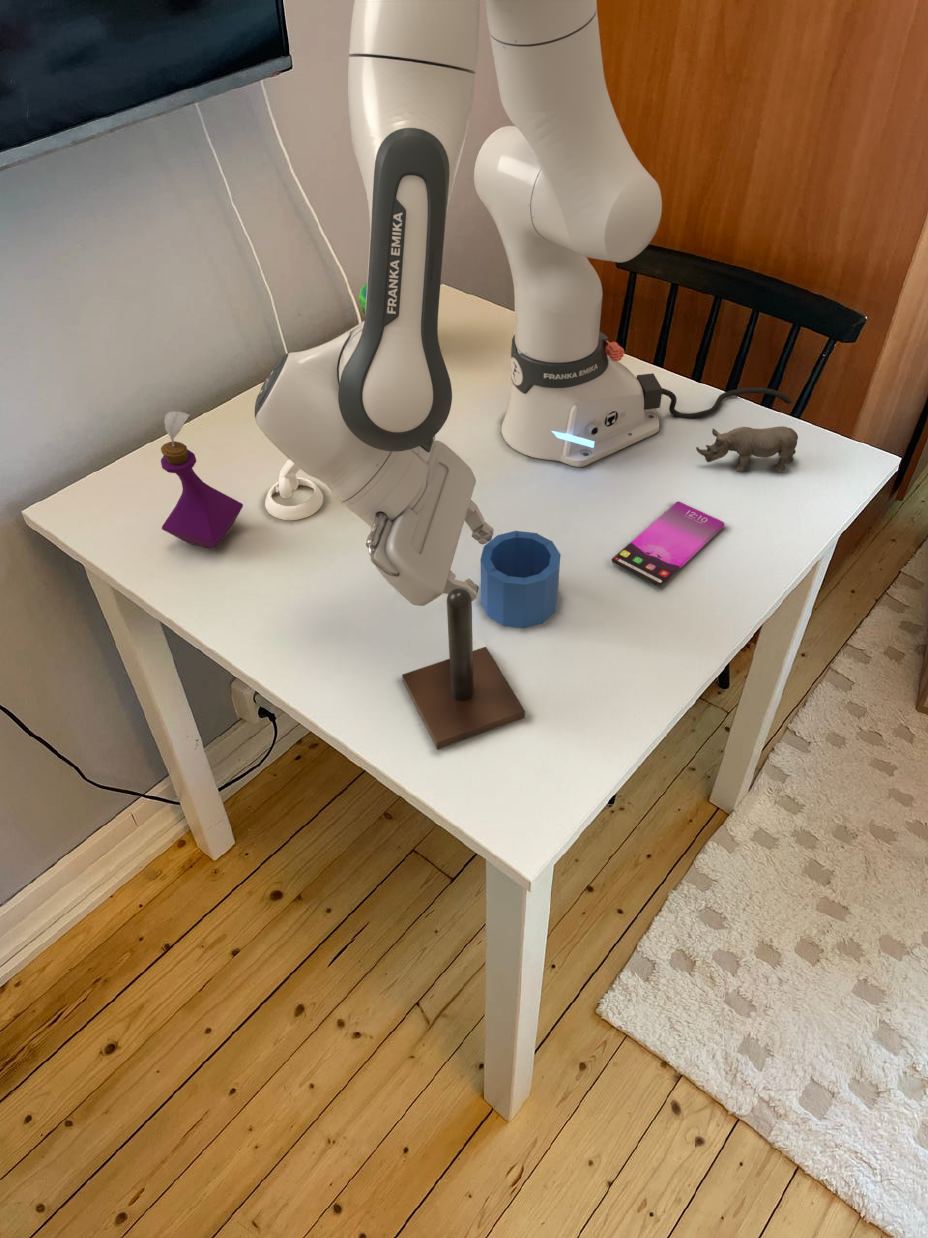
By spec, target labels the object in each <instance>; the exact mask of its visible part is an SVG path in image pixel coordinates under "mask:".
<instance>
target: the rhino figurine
mask: <svg viewBox="0 0 928 1238" xmlns="http://www.w3.org/2000/svg"><path fill="white" fill-rule="evenodd" d="M711 433H712V435H713V436H714V437H715V442H714V443H713V444H706V445H705V448H706V449H702V448H700V447H698V446H695V449H696V451H697V453H698V454H700V455H701V456H703V458H704V459H705V462H706V463H711V462H714V461H716V460H720V459H721V458H724V457H726V455H727V454H728V453H729V451H730V452H736V453H737V454H738V455H739V456H738V457H737V459H738V460H739V463H738V464H736V466H735V471H736V472H738V473H744V472H746V471H747V470H748V463H749V461H750V459H751V457H752V456H754V457H756V458H759V459H760V458H763V459H765V458H767V459H768V458H771V457H773V456H775V455H776V454H778V457H779V459H778V461H777V463H776V464H774V466H773V468H772V470H773V472H777V473H782V472H784V471H785V470H786V467H787V466H786V464H790V463H793V462H795V458H794V455H795V454H796V448H797V445H798V439H799V436H798V433H797V431H796V430H794V429H793V428H791V427H788V426H783V425H782V426H780V425H779V426H772V427H766V428H754V427H748V426H739V427H736V428H733V429H731V430H729V431H727V432H723V433H720V432H718V430H716V429H715V428H712V429H711Z"/></svg>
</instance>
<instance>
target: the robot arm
mask: <svg viewBox="0 0 928 1238" xmlns="http://www.w3.org/2000/svg"><path fill="white" fill-rule="evenodd" d="M597 2H598V1H597V0H484V5H485V13H486V20H487V25H488V33H489V38H490V45H491V51H492V56H493V62H494V68H495V74H496V81H497V86H498V91H499V97H500V102H501V104H502V108H503V109H504V112H505V114H506V115H507V117H508V119H509V120H510V121H511V123H512V124H513V125H505V126H502V127H500V128H498V129H496V130H495V131H493V132H491V134H490V135H489V136H488V137H487V138H486V140H485V141H484V142H483V144H482V146H481V147H480V149H479V151H478V154H477V156H476V159H475V164H474V170H473V182H474V183H473V184H474V189H475V191H476V195H477V197H478V198H479V200H480V201H481V202H482V204H483V205H484V206H485V208H486V209H487V211H488V212H489V214H490V216H491V218H492V220H493V221H494V224H495V226H496V228H497V230H498V233H499V236H500V238H501V241H502V245H503V248H504V251H505V254H506V257H507V261H508V264H509V268H510V272H511V277H512V283H513V292H514V293H513V294H514V334H513V336H512V338H511V345H510V348H511V349H510V365H509V366H510V379H511V387H510V393H509V399H508V404H507V409H506V412H505V416H504V418H503V421H502V423H501V427H500V429H501V435H502V437H503V439H504V441H505V443H506V444H508V445H509V446H510V447H511V448H512V449H513V450H515V451H517V452H519V453H520V454H522V455H525V456H528V457H530V458H535V459H540V460H547V461H554V462H555V461H556V462H560V463H563V464H566V465H568V466H572V467H576V468H583V467H586V466H588V465H591V464H593V463H595V462H597V461H598V460H601V459H604V458H606V457H607V456H610V455H612V454H614V453H617V452H619V451H621V450H622V449H624V448H626V447H629V446H632V445H633V444H636V443H639V442H640V441H642V440H645V439H647V438H649V437H651V436H653V435H655V434H657V433H658V432H659V431H660V419H659V415H658V413H657V412H656V410H655V409H661V403H662V396H663V395H665V396H666V397H668V398H669V399H670V403H669V407H668V410H669V413H670V414H671V415H672V416H674V417H675V418H677V419H678V418H679V419H686V420H687V419H688V420H689V419H690V420H692V419H698V418H702V417H707V416H710V415H712V414H715V413H716V412H717V411H718V409H719V408H720V407H721V405H722V402H723V401H724V400H725V399H726V398H730V397H733V396H739V395H744V394H745V395H746V394H763V395H764V394H766V395H770V396H774V397H776V398H778V399H780V400H781V401H782V402H784V403H785V404H787V405H790V404H793V401H792V399H791V398H789V397H788V396H787V395H786V394H784V393H783V392H780V391H778V390H775V389H773V388H767V387H744V388H738V389H737V388H736V389H732V390H728V391H725V392H723V393H721V394H719V396H718V397H717V398H716V401H715V402H714V404H713V406H712V407H710V408H708V409H705V410H701V411H697V412H691V413H684V412H680V411H678V410H676V406H677V402H678V401H677V396H676V394H675V393H674V392H672V390H670V389H667V388H663V387H662V386H661V383H660V382H659V381H658V379H657V377H656V376H655V374H654V373H643V374H637V375H636V376H635V374H634V373H633V372H632V371H631V370H630V369H629V368H628V367H627V366H625V365H624V364H623V363H621V362H620V361H621V360H622V358H624V356H625V350H624V348H623V347H622V346H621V345H620V344H619V343H618V342H617V341H611V342H610V341H609V337H608V336H607V335H606V334H605V333H603V332H602V331H600V329H601V317H602V305H603V296H604V295H603V294H604V292H603V286H602V281H601V278H600V276H599V274H598V273H597V271H596V269H595V267H594V266H593V265H592V264H591V262H590V260H589V258H590V259H595V260H599V261H606V262H613V263H626V262H629V261H631V260H633V259H634V258H636V257H637V256H638V255H640V254H641V253H642V252H643V251H644V250H645V249H646V248H647V247H648V246H649V244H651V242H652V240H653V239H654V237H655V235H656V234H657V232H658V229H659V226H660V223H661V219H662V213H663V199H662V191H661V189H660V186H659V184H658V182H657V181H656V179H655V178H654V177H653V175H651V174H650V173H649V172H648V171H647V169H646V168H645V167H644V166H643V164H642V163H641V162H640V160H639V158H638V157H637V156H636V154H635V152H634V151H633V149H632V147H631V145H630V143H629V142H628V139H627V136H626V135H625V132H624V131H623V129H622V127H621V126H622V125H621V124H620V121H619V119H618V117H617V114H616V112H615V109H614V106H613V104H612V101H611V97H610V95H609V91H608V87H607V83H606V77H605V73H604V63H603V56H602V54H603V53H602V47H601V46H602V45H601V37H600V26H599V25H600V24H599V15H598V3H597ZM349 32H350V33H349V44H348V45H349V46H348V56H349V57H348V59H347V60H348V62H347V107H348V119H349V120H348V121H349V129H350V130H349V131H350V136H351V137H350V138H351V145H352V149H353V153H354V156H355V159H356V163H357V165H358V168H359V173H360V176H361V178H362V182H363V186H364V190H365V195H366V200H367V208H368V216H369V245H368V246H369V247H368V261H367V264H368V265H367V277H366V279H367V280H366V283H367V294H366V311H365V314H364V320H362V321H361V322H360V323H358V324H357V325H355V326H354V327H352V328H350V329H349V330H347V331H345V332H344V333H342V334H340V335H338V336H337V337H335V338H333V339H332V340H329V341H327V342H325V343H322V344H320V345H317V346H315V347H311V348H309V349H306V350H302V351H295V352H287V353H285V354H284V355H282V356H281V357H280V358H279V359H278V360H277V361H276V362H275V365H274V366H273V367H272V368H271V370H270V372H269V373H268V374H267V376H266V378H265V380H264V381H263V384H262V386H261V387H260V391H259V392H258V394H257V397H256V399H255V403H254V418H255V423H256V425H257V427H258V428H259V430H260V431H261V432H262V433H263V435H264V436H265V438H267V440H269V441H270V442H271V443H272V445H273V446H275V448H277V449H278V450H279V451H280V452H281V453H282V454H283V456H285V457H286V458H287V459H290V460H291V461H292V462H293V463H294V464H295V465H297V466H298V467H299V468H300V470H301V471H302V472H303V473H305V474H306V475H307V476H310V477H312V478H314V479H316V480H319V481H320V482H321V483H323V484H324V485H326V487H327V488H328V489H329V490H330V492H331V493H332V495H333V496H334V497H335V499H336V500H337V501H338V502H340V503H341V504H342V505H343V506H344V507H346V508H347V509H348V510H350V511H351V512H352V513H353V514H355V515H356V516H357V517H358V518H359V519H360V520H362V521H363V522H364V523H365V524H366V525H368V526H369V527H370V528H371V529H370V533H369V534H368V535H367V537H366V540H365V541H366V542H365V546H366V548H367V550H368V555H369V558H370V560H369V561H370V562H371V563H372V564H373V565H374V566H375V568H376V570H377V571H378V572H379V574H380V575H381V576H382V577H383V579H384V580H386V581H387V582H388V583H389V585H390V586H391V587H393V588H394V589H395V591H396V592H398V593H399V594H400V595H401V596H402V597H403V598H404V599H405V600H406V601H407V602H409V603H410V604H411V605H413V606H416V607H424V606H427V605H428V604H431V603H432V602H434V601H435V600H436V599H439V597H441V596H442V595H448V594H449V593H450V592H451V591H452V590H453V589H456V588H462V589H465V590H467V591H468V592H469V594H470V595H471V599H472V602H473V601H475V600H477V598H478V593H479V590H480V587H479V585H478V584H477V583H475V582H474V581H473V580H472V579H471V578H466V579H465V580H464V581H462V580H459V579H456V577H457V574H456V573H455V572H453V571H452V570H451V568H452V566H453V562H454V558H455V554H456V552H457V548H458V544H459V540H460V538H461V534H462V530H463V528H464V524H465V523H466V525H467V526H468V528H469V529H470V531H471V532H472V533H471V537H472V538H473V539H474V541H477V543H478V544H479V545H484V546H485V545H486V544H487V543H488V542H490V541H491V540H492V539H493V535H494V531H495V530H494V528H493V526H491V525H490V524H489V523H488V522H487V521H485V517H484V516H483V514H482V512H481V510H480V507H478V504H477V503H475V501H473V499H472V497H473V494H474V489H475V486H476V484H477V483H476V482H477V478H476V476H475V474H474V472H473V470H472V468H471V467H470V466H469V465H468V464H467V462H465V460H463V459H462V458H461V457H460V456H459V455H458V454H457V453H456V452H455V451H454V450H452V449H451V448H450V447H449V446H448V445H447V444H445V443H444V442H442V441H440V440H436V435H437V434H438V433H439V432H440V431H441V429H442V428H443V427H444V425H445V423H446V422H447V419H448V418H449V415H450V412H451V409H452V403H453V389H452V388H453V387H452V381H451V378H450V375H449V372H448V368H447V366H446V363H445V359H444V357H443V354H442V350H441V347H440V342H439V333H438V332H439V331H438V330H439V329H438V327H439V326H438V325H439V324H438V323H439V309H440V298H441V297H440V295H441V284H442V282H441V281H442V269H443V258H444V246H445V245H444V243H445V234H446V233H445V232H446V221H447V216H448V210H449V206H450V203H451V198H452V194H453V190H454V185H455V181H456V177H457V173H458V169H459V165H460V161H461V157H462V154H463V150H464V146H465V141H466V138H467V133H468V129H469V123H470V118H471V113H472V107H473V101H474V94H475V86H476V78H477V75H476V74H477V69H478V57H479V40H480V0H354V2H353V7H352V15H351V24H350V31H349Z"/></svg>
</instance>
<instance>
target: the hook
mask: <svg viewBox="0 0 928 1238" xmlns="http://www.w3.org/2000/svg"><path fill="white" fill-rule="evenodd" d="M300 470H301V469H300V468H299V467H298V466H297V465H295V464H294V463H293V462H292V461H291V460H290V459H289V458H287V460H286V462H285V463H284V465H283V466H282V468H281V469H280V471H279V478H278V481H277V482H275V483H274V484H273V485H272V486H271V487H270V488H269V490H268V492H267V494H266V497H265V501H264V507H265V509H266V511H267V513H268V515H271V516H272V517H274V518H276V519H279V520H282V521H298V520H302V519H306V518H308V517H311V516H312V515H314V514H315V513H317V512H318V511H319V510H320V509H321V507H322V506H323V504H324V495H323V493H322V491H321V489H320V488H319V486H317V484H316V483H315V482H313V481H312V480H311V479H308V478H305V477H299V476H296V475H297V473H298V472H299V471H300ZM298 486H303V487H308V488H311V489H313V494H312V495H311V497H310V498H309V499H308V500H307V501H305V502H302V503H300V504H297V505H283V504H279V503H278V502H276V501H275V500H274V499H273V497H272V496H273V495H274V494H275V493H279V494H280V497H281V498H283V499H290V498H291V497H293V491H295V490H296V491H297V489H298Z"/></svg>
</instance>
